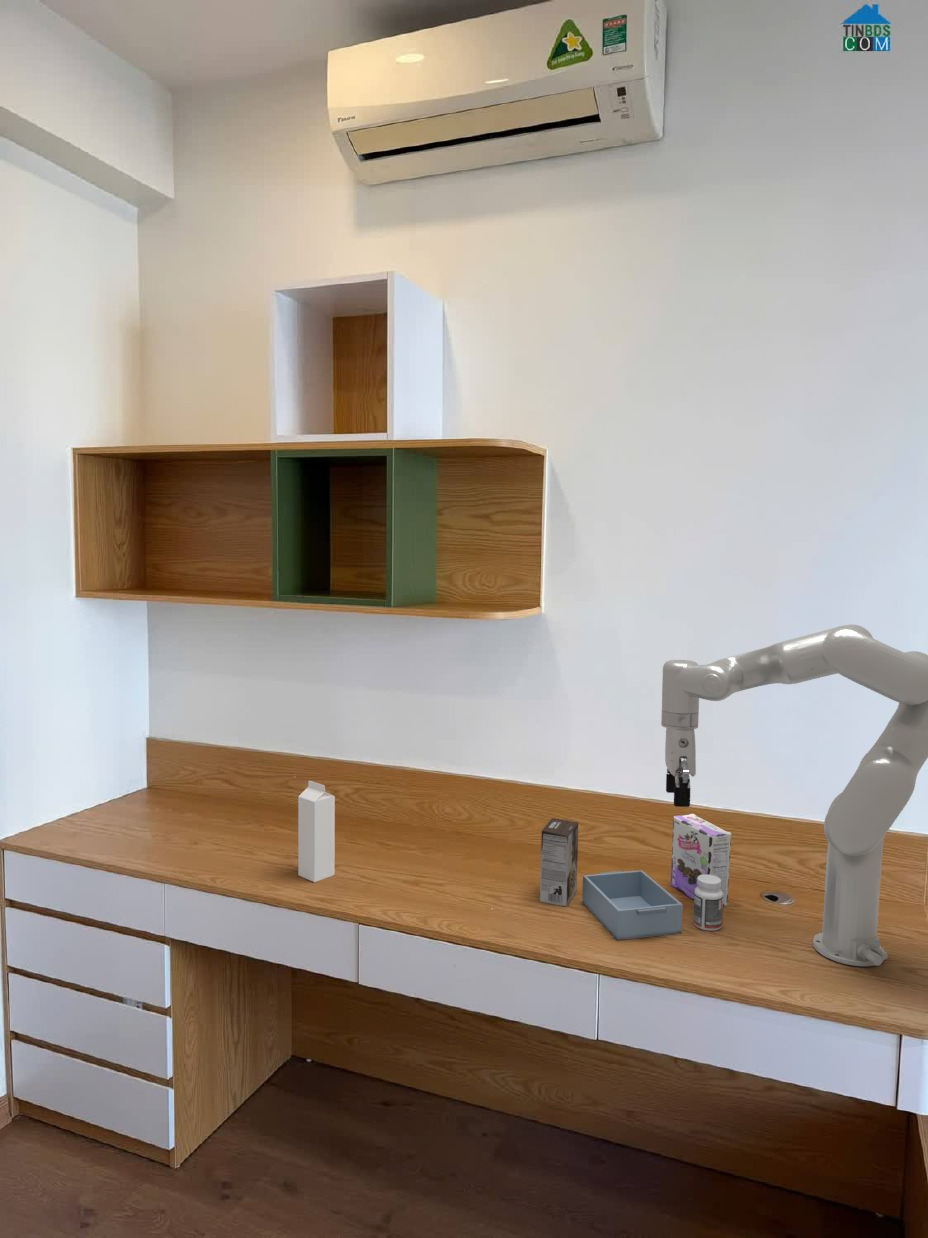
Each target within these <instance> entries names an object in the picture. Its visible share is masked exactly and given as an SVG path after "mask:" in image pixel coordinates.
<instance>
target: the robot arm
mask: <svg viewBox="0 0 928 1238" xmlns="http://www.w3.org/2000/svg"><path fill="white" fill-rule="evenodd" d="M837 674H838V675H840V676H842V677H844V678H846V679H848V680H850V681H852V682H854V683H856V684H858V685H860V686H862V687H864V688H867V689H869V690H871V691H873V692H875V693H877V694H879V695H881V696H884V697H886V698H888V699H890V700H892V701H895V702H897V703H898V705H897V708H896V710H895V712H894V713H893V715H892V716H891V718H890V720H889V721H888V723H887V725H886V726H885V728H884V730H883V731H882V733H881V734H880V736H879V737H878V738H877V740H876V741H875V743H874V744H873V745H872V746H871V748H869V750H868V751H867V752H866V753H865V754H864V755H863V757H862V759H861V760H860V762H859V765H858V766H857V769H856V770H855V771H854V773H853V776H852V777H851V778H850V780H849V781H848V783H847V784H846V786H845V787H844V789H843V790H842V792H841V793H838V794H837V796H835V798H834V799H833V800H832V802H831V804H830V806H829V807H828V811H827V813H826V815H825V819H824V822H823V830H824V831H823V832H824V835H825V838H826V840H827V851H826V852H827V854H826V865H825V866H826V867H825V881H824V882H825V883H824V900H823V915H822V916H823V917H822V932H819V933H817V934H815V935H814V936H813V939H812V940H813V944H812V945H813V947H814V949H815V950H816V951H817V952H818V953H819V954H820V955H822V956H824V958H825V957H826V958H827V959H830V960H832V961H834V962H836V963H839V964H843V965H847V966H848V965H849V966H854V967H864V968H865V967H874V966H877V967H878V966H881V964H883V962H884V961H885V960H887V959H888V958H889V954H888V953H887V952H886V951H885V950H884V948H883V946H881V938H880V937H878V924H879V923H878V921H879V908H880V894H881V893H880V891H881V877H882V869H883V868H882V866H883V865H882V863H883V853H884V851H883V849H884V840H885V836H886V834H887V833H888V831H889V830H890V828H891V827H892V826H893V824H894V822H895V821H896V820H897V819H898V817H899V816H900V814H901V813H902V811H903V810H904V809H905V807H906V806H907V804H908V802H910V800H911V797H912V796H913V793H914V790H915V787H916V782H917V778H918V774H919V772H920V770H921V769H922V767H923V766H924V764H925V762H926V761H927V759H928V654H926V653H924V652H921V651H914V650H912V651H907V652H904V651H901V650H899V649H897V648H895V647H892V646H890V645H888V644H886V643H883V642H881V641H879V640H878V639H875V638H874V637H873V635H872V634H871V632H870V631H869V630H868V629H866V628H865V627H863V626H861V625H857V624H844V625H840V626H837V627H832V628H828V629H825V630H821V631H818V632H814V633H811V634H807V635H802V636H799V637H796V638H792V639H787V640H784V641H780V642H777V643H773V644H772V645H768V646H766V647H762V648H759V649H755V650H751V651H747V652H744V653H740V654H736V655H733V656H728V657H725V658H721V659H718V660H715V661H714V662H713V661H712V662H711V663H707V664H699V663H697V662H695V661H693V660H687V659H671V660H668V661H667V660H666V662H665V663H664V664H663V666H662V680H661V681H662V683H661V684H662V685H661V686H662V688H661V692H662V693H661V722H660V725H661V727H663V728H665V729H666V730H665V744H664V745H665V746H664V747H665V749H664V752H665V757H664V758H665V759H664V760H665V766H666V774H665V775H666V776H665V777H666V778H665V792H666V793H667V794H669V793H670V794H673V805H674V806H675V807H676V808H677V807H679V808H681V807H683V808H684V807H685V808H688V807H689V808H690V806H691V779H690V776H691V777H695V776H696V775H697V773H696V772H697V770H696V766H697V761H696V760H697V759H696V733H695V730H696V729H699V715H700V713H699V711H700V710H699V709H700V699H702V700H706V701H710V702H720V701H724V700H725V699H727V698H729V697H730V696H732V695H733V694H735V693H738V692H743V691H745V690H749V689H754V688H757V687H761V686H762V687H763V686H767V685H773V684H781V685H782V684H783V685H795V684H800V683H803V682H804V683H805V682H808V681H812V680H815V679H816V680H817V679H820V678H824V677H828V676H831V675H837Z"/></svg>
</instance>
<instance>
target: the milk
mask: <svg viewBox="0 0 928 1238" xmlns="http://www.w3.org/2000/svg"><path fill="white" fill-rule="evenodd" d="M307 783H308V784H307V785H308V786H307V787H306V788H305V790H303V791H302V792H301V793H300V794H299V796H298V798H297V799H298V801H297V803H298V804H297V805H298V807H297V808H298V810H297V811H298V814H297V815H298V819H297V821H298V823H297V825H298V827H297V830H298V834H297V835H298V837H297V838H298V843H297V844H298V845H297V847H298V849H297V851H298V852H297V853H298V856H297V857H298V860H297V861H298V865H297V866H298V869H297V870H298V874H297V875H298V876H300V877H301V878H303V879H306V880H308V881H310V882H313V883H316V882H320V881H322V880H325V879H329V878H330V877H333V876H335V865H336V864H335V862H336V861H335V859H336V858H335V856H336V855H335V854H336V852H335V847H336V846H335V845H336V842H335V837H336V836H335V832H336V831H335V830H336V829H335V828H336V827H335V824H336V823H335V821H336V817H335V813H336V812H335V811H336V804H335V802H336V796H335V795H334V794H332V793H329V792H326V785H324V784H322V783H318V782H315V781H312V780H308V782H307Z"/></svg>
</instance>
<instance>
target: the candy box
mask: <svg viewBox="0 0 928 1238" xmlns="http://www.w3.org/2000/svg"><path fill="white" fill-rule="evenodd" d="M672 817H673V819H672V820H673V821H672V844H671V845H672V846H671V847H672V849H671V871H670V872H671V873H670V885H671V887H674V888H675V889H676V890H678V891H679V892H682V893H683V894H684V895H685V896H687V897H688V898H690V899H692V901H694V891H695V888H696V887H697V886H698V884H697V877H698V876H699V875H704V874H707V875H713V876H716V877H718V878H720V879H721V887H720V889H721V890H722V892H723V907H727V906H728V898H729V882H730V881H729V879H730V866H731V852H732V851H731V850H732V849H731V848H732V832H730V831H726V830H724V829H722V828H721V827H719V826H717V825H715V824H713V823H711V822H710V821H707V820H705V819H703V818H701V816H698V815H696V814H695V813H689V814H682V815H675V816H672Z"/></svg>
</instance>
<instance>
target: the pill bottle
mask: <svg viewBox="0 0 928 1238" xmlns="http://www.w3.org/2000/svg"><path fill="white" fill-rule="evenodd" d="M697 884H698V886H697V887H696V888H695V891H694V900H693V919H692V920H693V921H692V922H693V925H694V926H695V927H696V928H698V929H701V930H702V931H708V932H711V931H712V932H715V931H718V930H720V929H721V928H722V927H723V910H724V906H723V892H722V890H721V889H720V887H721V879H720V878H718V877H716V876H713V875H707V874H704V875H699V876H698V877H697Z"/></svg>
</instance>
